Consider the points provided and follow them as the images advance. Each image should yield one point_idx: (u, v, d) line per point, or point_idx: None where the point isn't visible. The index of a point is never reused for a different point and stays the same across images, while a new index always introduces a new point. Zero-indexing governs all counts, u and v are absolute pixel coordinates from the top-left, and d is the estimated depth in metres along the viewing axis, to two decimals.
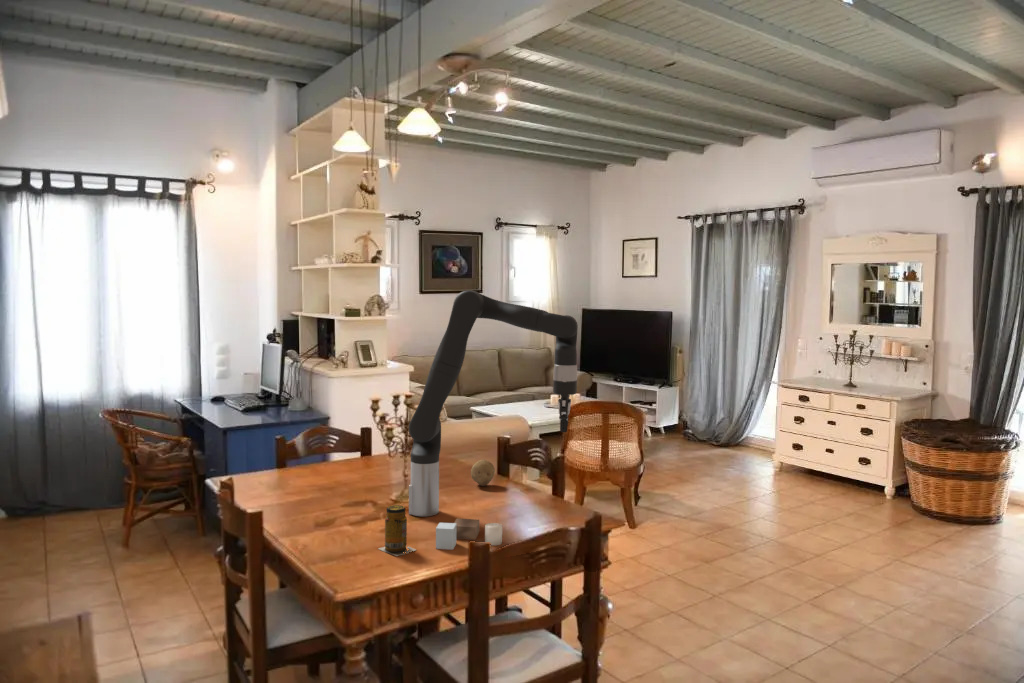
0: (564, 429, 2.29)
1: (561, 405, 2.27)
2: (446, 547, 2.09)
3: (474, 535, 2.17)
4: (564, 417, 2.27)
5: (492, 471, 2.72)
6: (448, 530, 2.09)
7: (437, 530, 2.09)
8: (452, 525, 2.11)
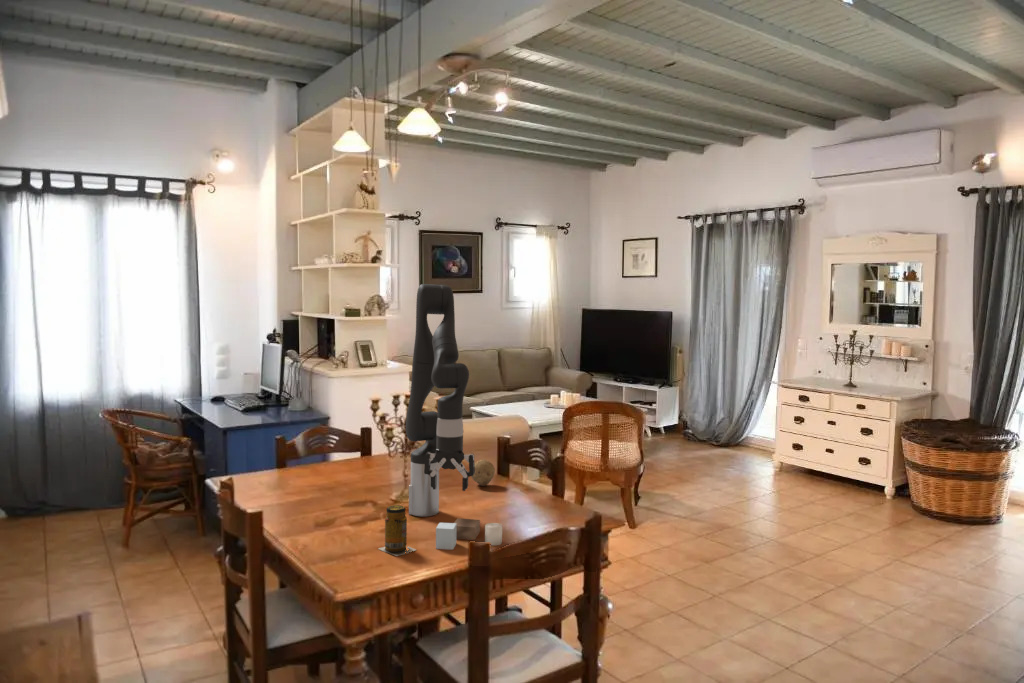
0: (467, 486, 2.10)
1: (473, 460, 2.09)
2: (446, 547, 2.09)
3: (473, 535, 2.17)
4: (474, 472, 2.10)
5: (492, 471, 2.72)
6: (448, 530, 2.09)
7: (437, 530, 2.09)
8: (452, 525, 2.11)
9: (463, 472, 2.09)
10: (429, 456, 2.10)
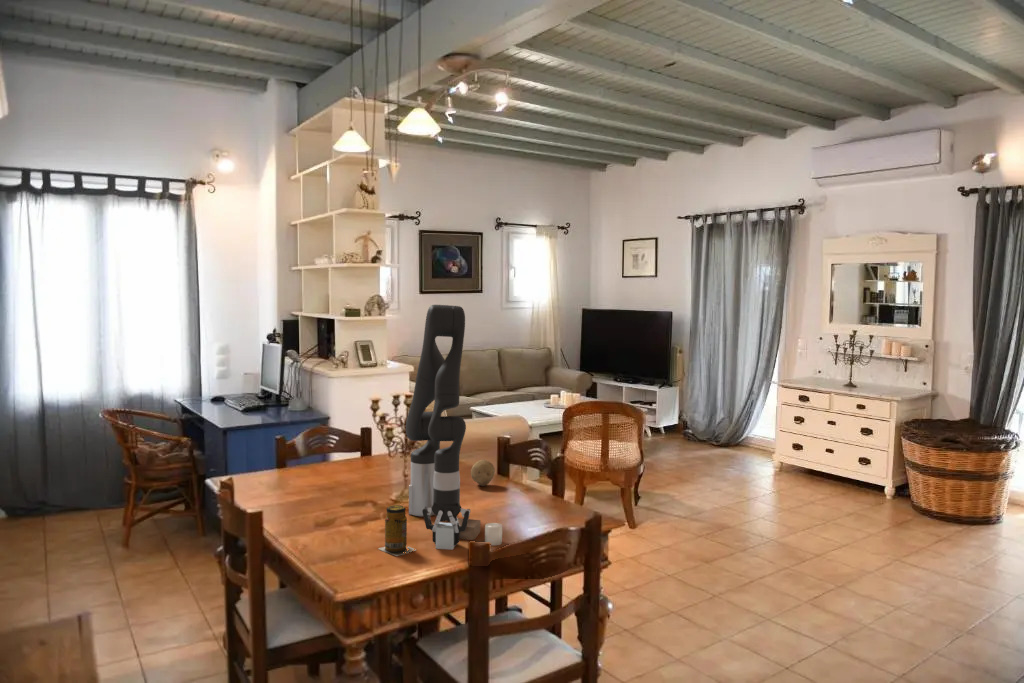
0: None
1: (468, 516, 2.09)
2: (446, 547, 2.09)
3: (473, 535, 2.17)
4: (465, 527, 2.11)
5: (492, 471, 2.72)
6: (448, 530, 2.09)
7: (437, 530, 2.09)
8: None
9: (456, 527, 2.10)
10: (426, 511, 2.11)
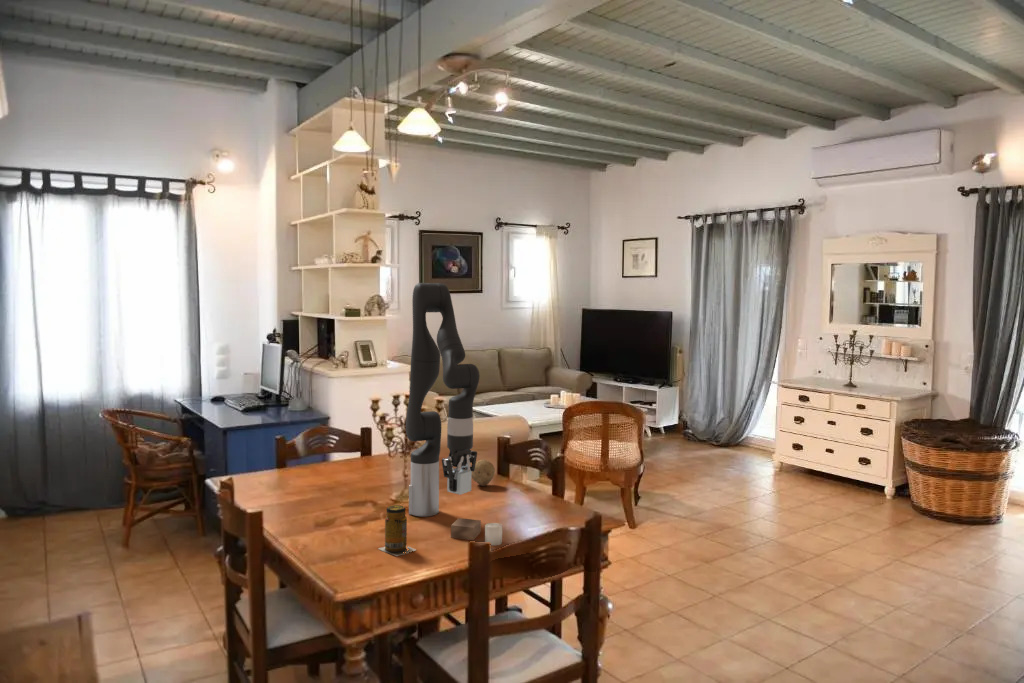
0: None
1: None
2: (467, 490, 2.16)
3: (472, 535, 2.17)
4: None
5: (492, 471, 2.72)
6: (468, 473, 2.16)
7: (461, 476, 2.13)
8: (462, 469, 2.18)
9: (469, 469, 2.18)
10: None
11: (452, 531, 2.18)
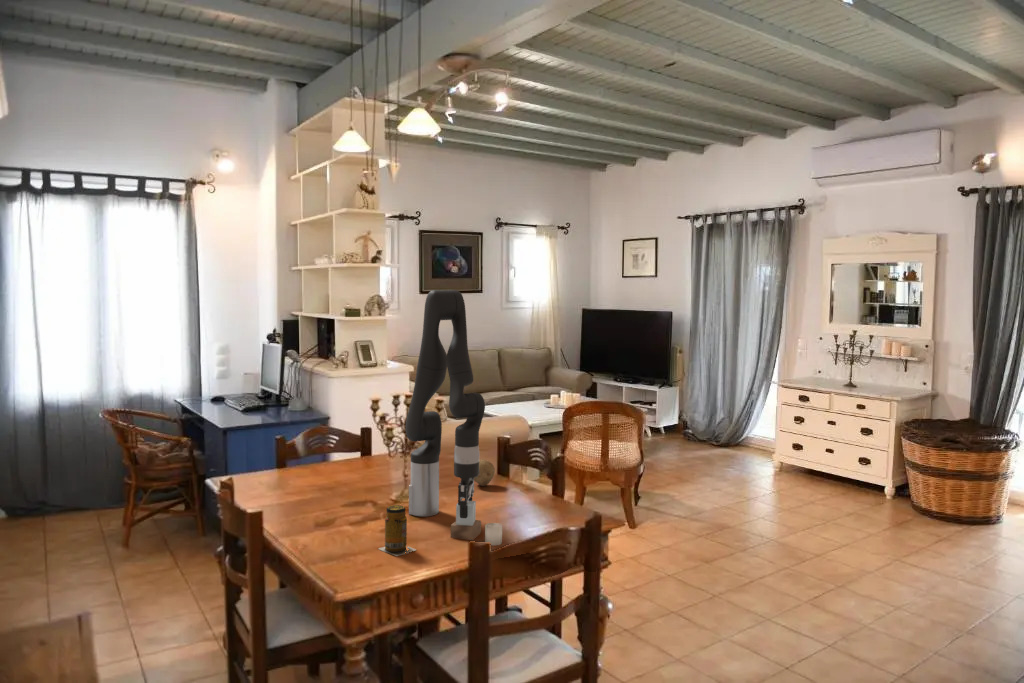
0: None
1: None
2: (474, 520, 2.21)
3: (471, 536, 2.17)
4: None
5: (492, 471, 2.72)
6: (474, 504, 2.21)
7: (473, 507, 2.18)
8: None
9: (472, 492, 2.24)
10: None
11: (452, 531, 2.19)
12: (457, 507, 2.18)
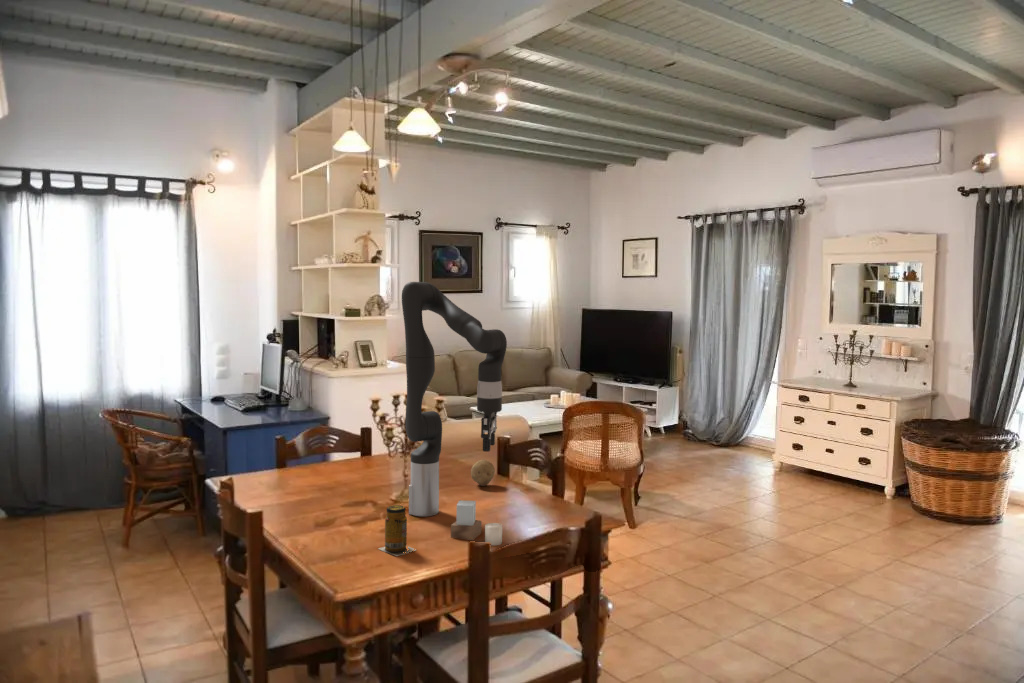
0: None
1: None
2: (474, 520, 2.21)
3: (471, 536, 2.17)
4: None
5: (492, 471, 2.72)
6: (475, 504, 2.22)
7: (473, 507, 2.18)
8: (466, 501, 2.22)
9: (495, 428, 2.29)
10: None
11: (452, 531, 2.19)
12: (457, 507, 2.18)
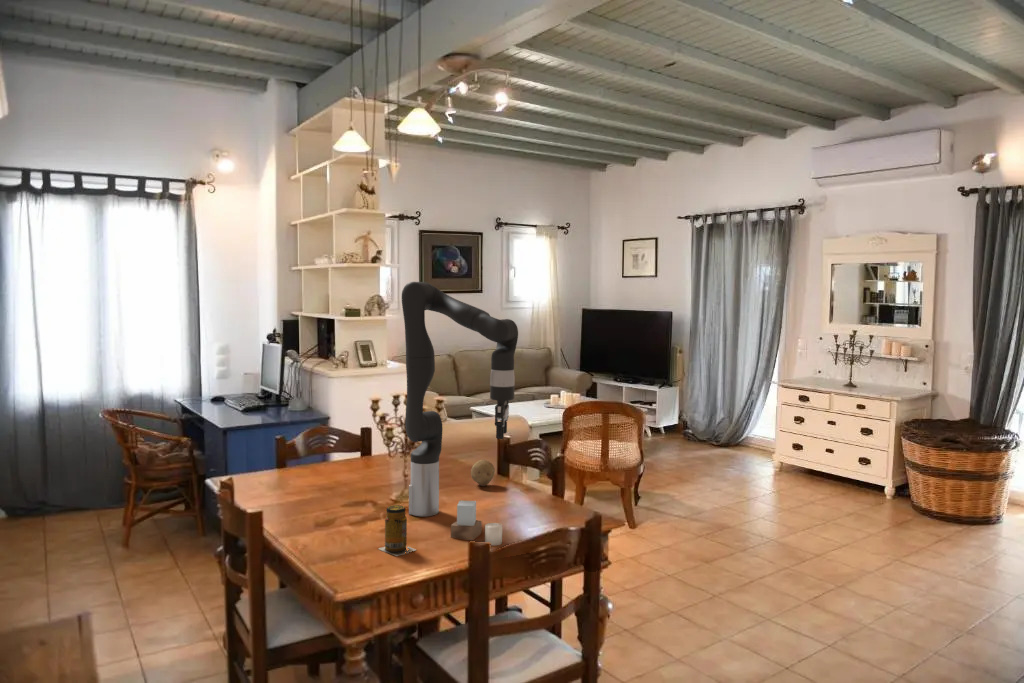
0: None
1: None
2: (475, 520, 2.21)
3: (471, 536, 2.17)
4: None
5: (492, 471, 2.72)
6: (475, 504, 2.21)
7: (474, 507, 2.18)
8: (466, 501, 2.22)
9: (507, 416, 2.32)
10: None
11: (452, 531, 2.19)
12: (458, 507, 2.18)
